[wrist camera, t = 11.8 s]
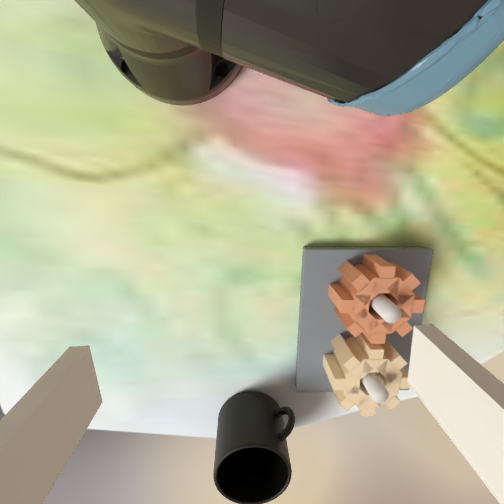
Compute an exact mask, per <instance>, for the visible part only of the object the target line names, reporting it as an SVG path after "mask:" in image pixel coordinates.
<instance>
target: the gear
mask: <svg viewBox="0 0 504 504" xmlns="http://www.w3.org/2000/svg"><path fill="white" fill-rule="evenodd" d="M337 270H338V271H339V272H340V273H341V274H342V275H343V277H342V278H341V279H340V282H339V284H329V292H328V296H329V297H330V299H331V300H332V301H333V303H334V304H335V306H336V307H335V308H334V309H333V310H334V311H335V313H336V314H337V316H338V317H339V319H340V320H341V322H342V323H343V325H344V326H345V328H346V329H347V330H348V331H349V332H350V333H351V334H352V335H353V336H354V337H355V338H356V337H357V336H358V335H359V334H361V333H362V332H363V334H364V335H365V336H366V338H367V339H368V340H369V342H370V343H371V344H385V339H386V334H392V333H393V332H394V331H395V330H396V331H397V332H398V333H399V334H400V335H401V336H402V337H403V336H404V335H406V334H407V333H408V332H409V331H411V330H412V329H413V327H412V326H411V325H410V324H409V323H408V322H407V321H408V320H409V319H410V318H411V314H412V313H423V310H424V304H425V299H424V298H422V297H421V296H419V295H418V294H416V293H415V292H413V291H412V290H413V289H415V288H416V287H417V286H418V285H420V284H421V283H420V282H419V280H418V279H417V278H416V277H415V276H414V275H413V274H412V273H411V272H409V271H407V270H406V269H404V268H402V267H400V266H399V265H397V264H395V263H394V262H392V261H389V262H388V261H386V260H384V259H383V258H381V257H379V256H378V255H376V254H363V257H362V264H357V265H355V266H353V265H352V264H350V263H349V262H348V261H345V262H344V263H343V264H342V265H341V266H340V267H339V268H338V269H337ZM379 293H383V294H384V295H385V296H386V297H387V298H388V299H390V300H391V301H392V302H393V303H394V304H395V305H397V306H398V307H399V308H400V309H401V312H402V315H401V318H400V319H399V320H398V321H397V322H394V323H388V322H386V321H385V320H384V319H383V318H382V317H381V316H380V315H379V314H378V313H377V312H376V311H375V310H374V309H373V308H372V307H371V306H370V305H369V303H370V301H371V300H372V299H373V298H374V297H375V296H376V295H378V294H379Z"/></svg>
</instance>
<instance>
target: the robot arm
mask: <svg viewBox="0 0 504 504" xmlns="http://www.w3.org/2000/svg"><path fill="white" fill-rule="evenodd" d="M75 1H76V2H77V3H78V4H79V5H80V6H81V7H82V8H83V9H84V10H85V11H86V12H87V13H88V14H89V16H90V17H91V18H92V19H93V20H94V21H95V22H96V25H97V29H98V32H99V35H100V38H101V41H102V43H103V46H104V48H105V50H106V52H107V53H108V55H109V57H110V59H111V60H112V62H113V63H114V65H115V66H116V67H117V69H118V70H119V71H120V72H121V73H122V75H123V76H124V77H125V78H126V79H127V80H129V81H130V82H131V83H132V84H133V85H134V86H136V87H137V88H138V89H139V90H141V91H142V92H143V93H145V94H146V95H148V96H150V97H152V98H154V99H156V100H158V101H161V102H164V103H168V104H173V105H193V104H198V103H201V102H204V101H207V100H209V99H211V98H213V97H215V96H216V95H218V94H219V93H221V92H222V91H223V90H224V89H225V88H227V87H228V86H229V85H230V83H231V82H232V81H233V80H234V79H235V77H236V76H237V74H238V73H239V71H240V69H241V67H242V66H245V67H247V68H250V69H253V70H255V71H258V72H261V73H263V74H266V75H268V76H271V77H274V78H276V79H279V80H282V81H284V82H287V83H290V84H292V85H295V86H297V87H300V88H303V89H305V90H308V91H311V92H313V93H316V94H319V95H321V96H324V97H326V98H327V99H328V101H329V102H331V103H333V104H335V105H338V106H349V107H351V106H352V107H355V108H358V109H361V110H364V111H367V112H370V113H373V114H377V115H381V116H390V115H395V114H403V113H408V112H411V111H413V110H416V109H418V108H420V107H422V106H424V105H426V104H428V103H430V102H432V101H433V100H435V99H437V98H438V97H440V96H441V95H443V94H444V93H446V92H447V91H448V90H450V89H451V88H452V87H454V86H455V85H456V84H458V83H459V82H460V81H461V80H462V79H464V78H465V77H466V76H467V75H468V74H470V73H471V72H472V71H473V70H474V69H475V68H476V67H477V66H478V65H479V64H481V63H482V62H483V61H484V60H485V59H486V58H487V57H488V56H489V55H490V54H491V53H492V52H493V51H494V50H495V49H496V48H497V47H498V45H499V44H500V43H501V42H502V41H503V40H504V0H75ZM407 382H408V384H409V385H410V386H411V387H412V389H413V390H414V391H415V393H416V394H417V395H418V397H419V398H420V399H421V400H422V402H423V403H424V404H425V406H426V407H427V408H428V410H429V411H430V412H431V414H432V415H433V416H434V418H435V419H436V420H437V421H438V423H439V424H440V426H441V427H442V428H443V429H444V431H445V432H446V433H447V434H448V436H449V437H450V439H451V440H452V441H453V443H454V444H455V445H456V447H457V448H458V449H459V450H460V452H461V453H462V454H463V456H464V457H465V458H466V460H467V461H468V462H469V464H470V465H471V466H472V467H473V469H474V470H475V472H476V473H477V474H478V475H479V477H480V478H481V479H482V481H483V482H484V483H485V484H486V486H487V487H488V489H489V490H490V491H491V493H492V494H493V495H494V496H495V498H496V499H497V500H498V502H499V503H500V504H504V384H503V383H502V382H500V380H498V379H497V378H496V377H495V376H494V375H492V374H491V373H490V372H489V371H488V370H486V369H485V368H484V367H483V366H482V365H480V364H479V363H478V362H477V361H476V360H474V359H473V358H472V357H471V356H470V355H468V354H467V353H466V352H465V351H464V350H463V349H461V348H460V347H459V346H458V345H457V344H455V343H454V342H453V341H452V340H451V339H449V338H448V337H447V336H446V335H445V334H443V333H442V332H441V331H440V330H439V329H437V328H436V327H435V326H434V325H433V324H429V325H414V329H413V338H412V346H411V355H410V363H409V372H408V380H407ZM101 403H102V398H101V394H100V390H99V385H98V381H97V377H96V373H95V368H94V364H93V360H92V356H91V351H90V347H89V346H75V347H69V348H68V349H67V350H66V351H65V352H64V354H63V355H62V356H61V357H60V358H59V359H58V360H57V361H56V362H55V363H54V364H53V365H52V366H51V367H50V368H49V369H48V371H47V372H46V373H45V374H44V375H43V376H42V377H41V378H40V379H39V380H38V381H37V382H36V383H35V384H34V385H33V386H32V388H31V389H30V390H29V391H28V392H27V393H26V394H25V395H24V396H23V397H22V398H21V399H20V400H19V401H18V402H17V403H16V405H15V406H14V407H13V408H12V409H11V410H10V411H9V412H8V413H7V414H6V415H5V416H4V417H3V418H2V419H1V421H0V504H43V502H44V501H45V499H46V497H47V495H48V494H49V492H50V490H51V489H52V487H53V485H54V484H55V482H56V480H57V479H58V477H59V475H60V473H61V472H62V470H63V468H64V467H65V465H66V463H67V461H68V459H69V458H70V456H71V454H72V453H73V451H74V449H75V448H76V446H77V444H78V443H79V441H80V439H81V437H82V436H83V434H84V432H85V431H86V429H87V427H88V426H89V424H90V422H91V420H92V419H93V417H94V415H95V414H96V412H97V410H98V409H99V407H100V405H101Z"/></svg>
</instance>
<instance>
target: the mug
mask: <svg viewBox="0 0 504 504" xmlns="http://www.w3.org/2000/svg"><path fill="white" fill-rule="evenodd" d="M283 414H287V415H288V417H289V419H288V424H287V426H286V428H285V429H284V424H283V418H282V415H283ZM294 423H295V416H294V413H293V411H292V410H291V409H290V408H289V407H282V408H280V407H279V406H278V404H277V403H276V402H275V401H274V400H273V399H272V398H271V397H269V396H267V395H265V394H263V393H259V392H243V393H240V394H237V395H235V396H233V397H231V398H230V399H229V400H228V401H226V403H225V404H224V405H223V406H222V408H221V410H220V413H219V417H218V428H217V440H216V451H215V463H214V482H215V485H216V487H217V489H218V490H219V492H220V493H221V494H222V495H223V496H224V497H226V498H227V499H229V500H231V501H233V502H236V503H239V504H263V503H266V502H269V501H271V500H273V499H275V498H277V497H278V496H279V495H281V494H282V493H283V492H284V491H285V489H286V488H287V487H288V485H289V482H290V479H291V472H292V471H291V464H290V459H289V453H288V448H287V441H286V437H288V436H289V434H290V433H291V431H292V429H293V427H294Z"/></svg>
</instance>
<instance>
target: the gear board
mask: <svg viewBox="0 0 504 504" xmlns="http://www.w3.org/2000/svg"><path fill="white" fill-rule="evenodd" d="M432 253H433V250H432V249H429V248H427V247H303V259H302V276H301V293H300V311H299V328H298V345H297V362H296V379H295V386H296V390H297V392H322V391H334V393H335V395H336V398H337V400H338V402H339V404H340V405H341V406H342V407H343V408H344V409H346V410H347V411H348V410H349V409H350V408H352V407H353V406H354V405H356V406H357V407H358V409H359V411H360V413H361V414H362V416H375V409H376V407H381V406H383V405H384V404H385V405H386V406H387V407H388V408H390V410H392V409H393V408H394V407H396V406H397V405H398V404H400V403H401V401H400V400H399V399H398V397H397V396H396V395H397V394H398V393H399V390H409V389H410V385H409V384H408V382H407V380H408V372H409V363H410V355H411V346H412V338H413V329H414V325H420V322H421V316H422V313H412V314H411V318H410V319H409V320H408V321H407V322H408V323H409V324H410V325H411V326H412V327H413V329H412V330H411V331H409V332H408V333H407V334H406V335H404V336H403V337H402V336H401V335H400V334H399V333H398V332H397V331H396V330H395V331H394V332H393V333H392V334H386V339H385V344H371V343H370V342H369V340H368V339H367V338H366V336H365V335H364V334H363V332H362V333H361V334H359V335H358V336H357V337H356V338H355V337H354V336H353V335H352V334H351V333H350V332H349V331H348V330H347V329H346V328H345V326H344V325H343V323H342V322H341V320H340V319H339V317H338V316H337V314H336V313H335V311H334V310H333V309H334V308H335V307H336V306H335V304H334V303H333V301H332V300H331V299H330V297H329V296H328V292H329V284H339V282H340V279H341V278H342V277H343V275H342V274H341V273H340V272H339V271H338V270H337V269H338V268H339V267H340V266H341V265H342V264H343V263H344V262H345V261H348V262H349V263H350V264H352V265H353V266H355V265H357V264H362V257H363V254H376V255H378V256H379V257H381V258H383V259H384V260H386V261H388V262H389V261H392V262H394V263H395V264H397V265H399V266H400V267H402V268H404V269H406V270H407V271H409V272H411V273H412V274H413V275H414V276H415V277H416V278H417V279H418V280H419V282H420V283H421V284H420V285H418V286H417V287H416V288H415V289H413V290H412V291H413V292H415V293H416V294H418V295H419V296H421V297H422V298H424V299H425V293H426V288H427V282H428V276H429V271H430V265H431V259H432ZM369 305H370V306H371V307H372V308H373V309H374V310H375V311H376V312H377V313H378V314H379V315H380V316H381V317H382V318H383V319H384V320H385V321H386V322H388V323H394V322H397V321H398V320H399V319H400V318H401V315H402V312H401V309H400V308H399V307H398V306H397V305H395V304H394V303H393V302H392V301H391V300H390V299H388V298H387V297H386V296H385V295H384V294H383V293H379V294H378V295H376V296H375V297H374V298H373V299H372V300H371V301H370V303H369Z"/></svg>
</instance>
